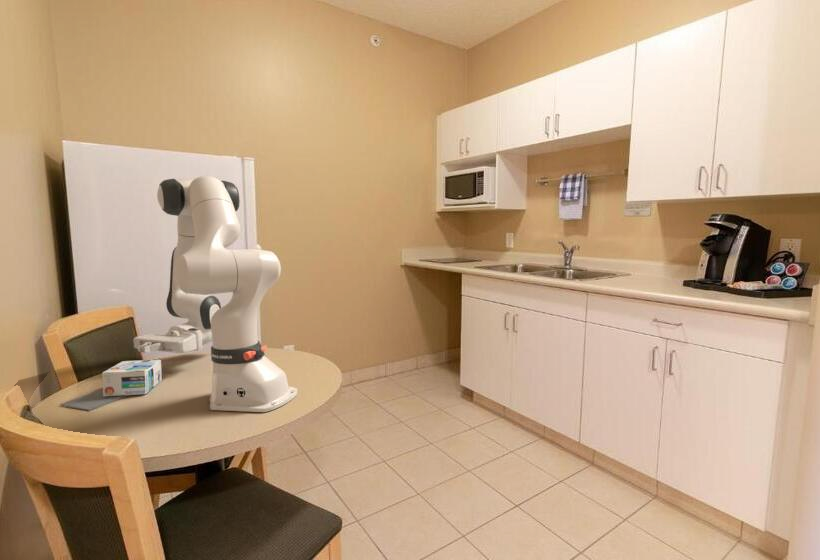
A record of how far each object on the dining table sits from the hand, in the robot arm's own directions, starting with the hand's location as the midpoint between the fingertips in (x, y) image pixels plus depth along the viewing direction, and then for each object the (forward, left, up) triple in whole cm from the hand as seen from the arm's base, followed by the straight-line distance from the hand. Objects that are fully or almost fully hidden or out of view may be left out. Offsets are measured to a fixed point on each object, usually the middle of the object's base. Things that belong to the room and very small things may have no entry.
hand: (141, 349), depth 119 cm
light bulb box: (-1, +1, -6) cm, 6 cm away
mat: (-1, +13, -10) cm, 16 cm away
